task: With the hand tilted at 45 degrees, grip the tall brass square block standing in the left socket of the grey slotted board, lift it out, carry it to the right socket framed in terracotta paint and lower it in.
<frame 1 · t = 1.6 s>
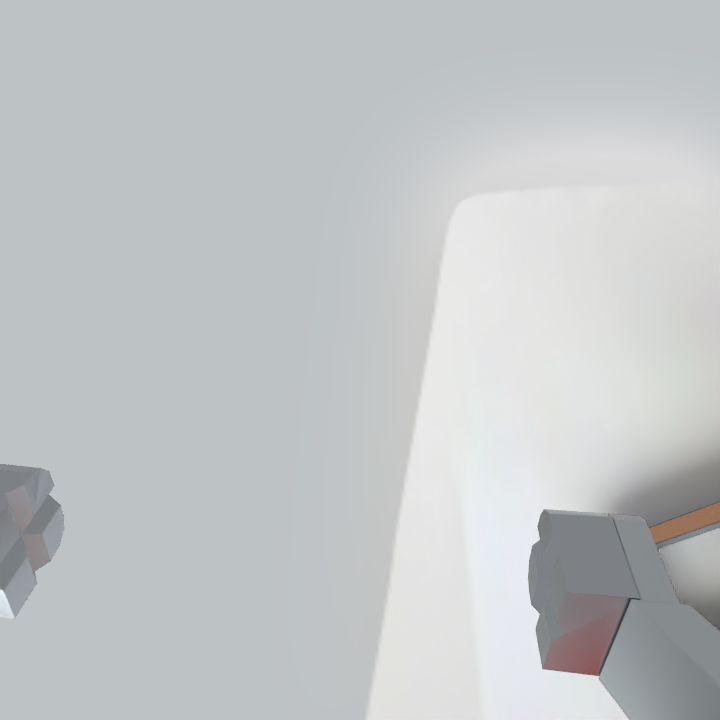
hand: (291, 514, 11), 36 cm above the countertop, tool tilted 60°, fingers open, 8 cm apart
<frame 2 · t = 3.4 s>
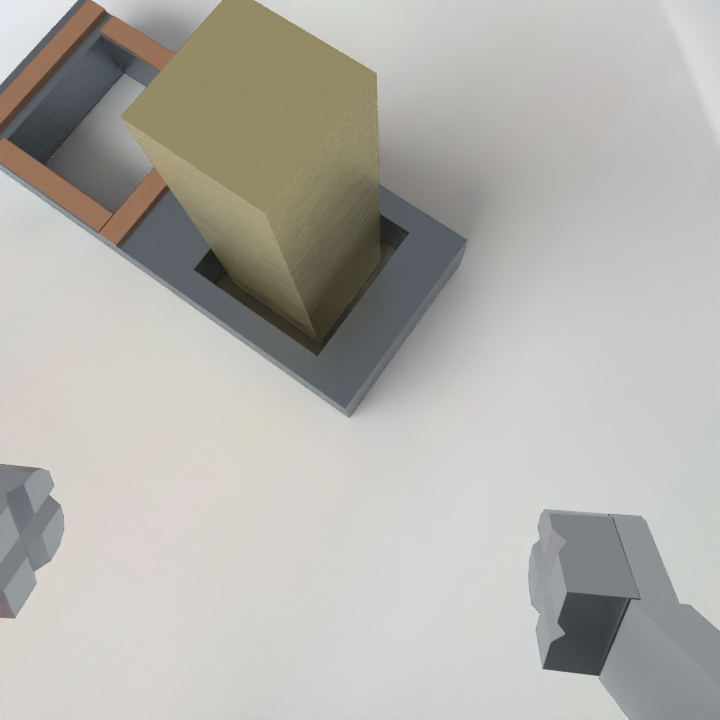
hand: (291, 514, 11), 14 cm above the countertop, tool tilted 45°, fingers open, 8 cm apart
grey slotted board: (217, 211, 28), on the countertop
brass block: (308, 273, 27), resting in grey slotted board
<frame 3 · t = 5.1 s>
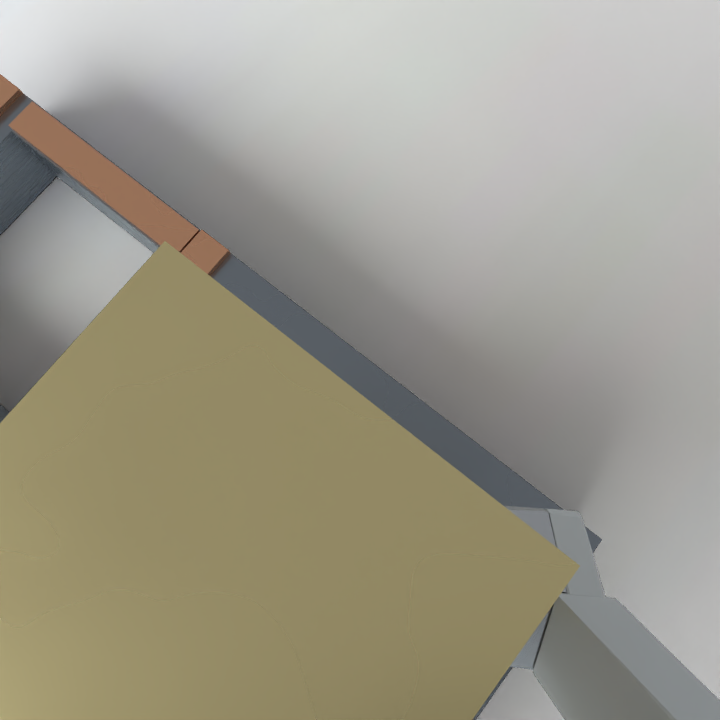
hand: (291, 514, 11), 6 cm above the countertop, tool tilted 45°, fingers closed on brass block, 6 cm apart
grey slotted board: (184, 416, 17), on the countertop
brass block: (324, 533, 17), resting in grey slotted board, touching gripper
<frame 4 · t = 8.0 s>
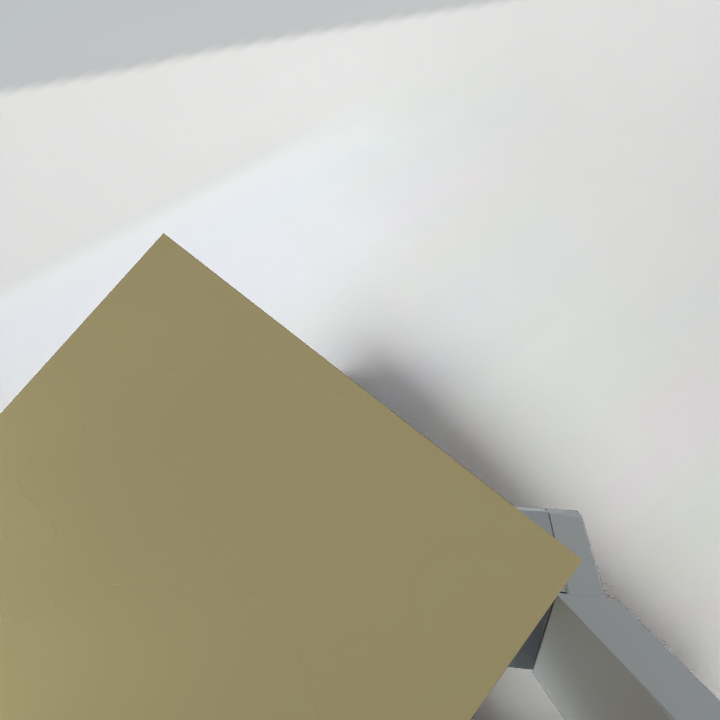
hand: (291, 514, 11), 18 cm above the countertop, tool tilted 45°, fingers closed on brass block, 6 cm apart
brass block: (324, 530, 17), point 12 cm above the countertop, touching gripper
when the fingers open (8 cm above the countertop, at t = 10.9 s): brass block drops 1 cm, resting in grey slotted board.
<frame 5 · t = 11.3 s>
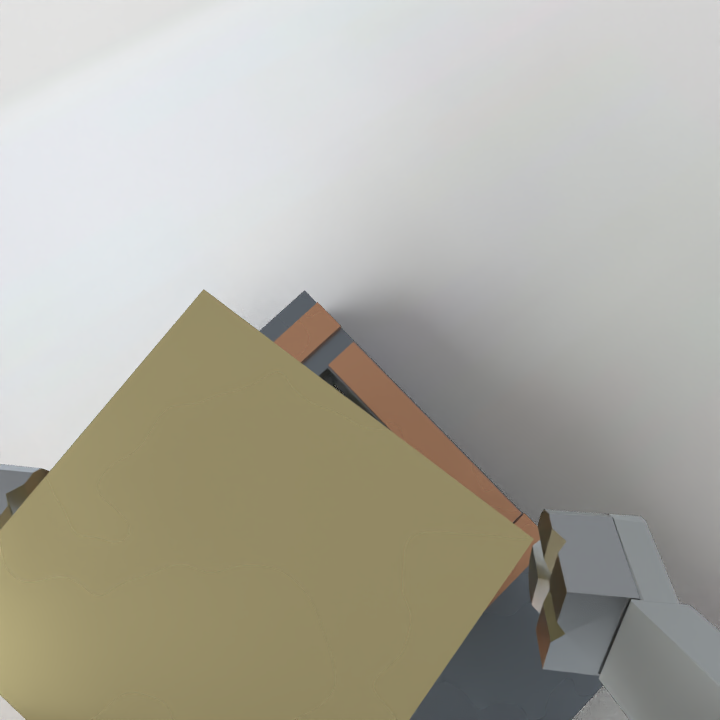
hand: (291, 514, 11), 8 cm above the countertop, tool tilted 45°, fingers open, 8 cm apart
grey slotted board: (454, 669, 17), on the countertop
brass block: (329, 528, 18), resting in grey slotted board
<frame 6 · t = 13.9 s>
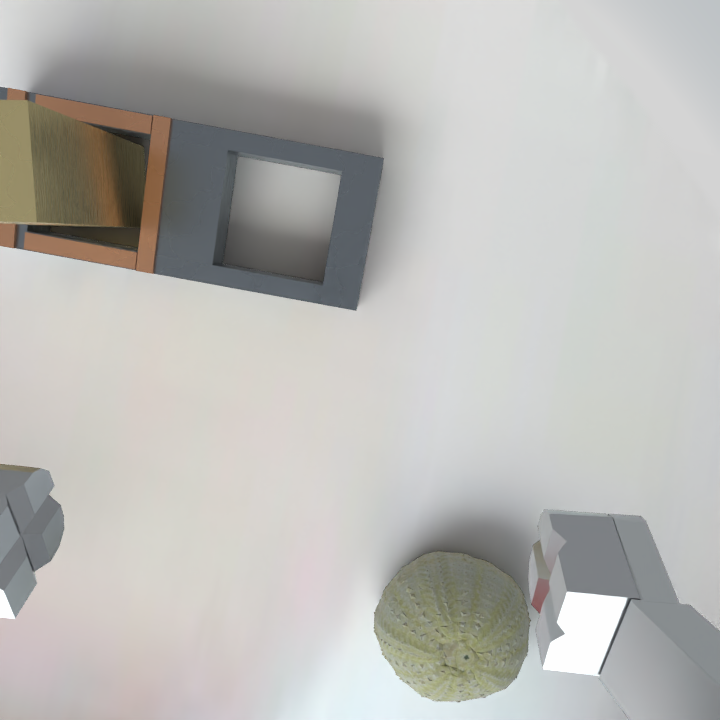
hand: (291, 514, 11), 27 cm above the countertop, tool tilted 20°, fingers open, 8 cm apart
grey slotted board: (195, 204, 36), on the countertop
sea urchin shell: (448, 606, 40), on the countertop
brass block: (106, 187, 36), resting in grey slotted board
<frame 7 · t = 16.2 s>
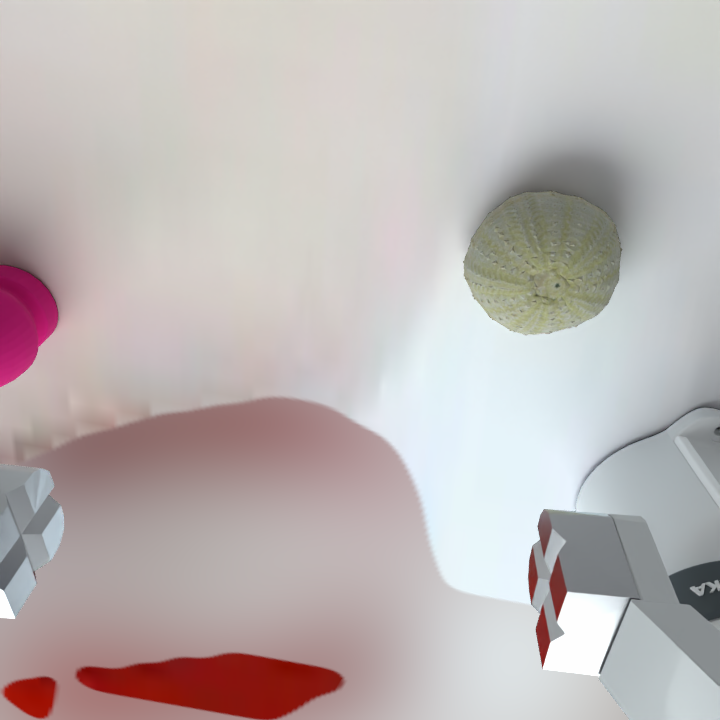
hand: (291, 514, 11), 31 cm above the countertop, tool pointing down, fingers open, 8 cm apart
pepper mill: (17, 302, 46), on the countertop
sea urchin shell: (537, 252, 41), on the countertop
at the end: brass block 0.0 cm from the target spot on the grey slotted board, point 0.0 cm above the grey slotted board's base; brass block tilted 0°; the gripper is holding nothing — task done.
